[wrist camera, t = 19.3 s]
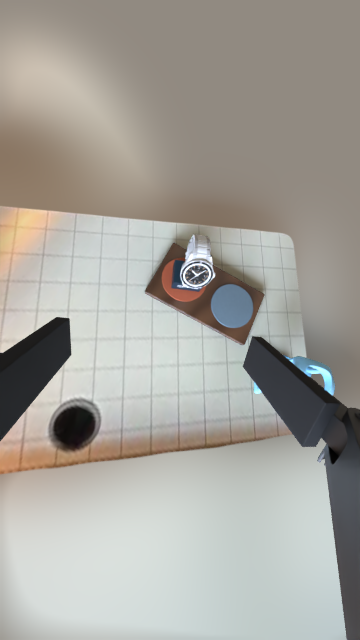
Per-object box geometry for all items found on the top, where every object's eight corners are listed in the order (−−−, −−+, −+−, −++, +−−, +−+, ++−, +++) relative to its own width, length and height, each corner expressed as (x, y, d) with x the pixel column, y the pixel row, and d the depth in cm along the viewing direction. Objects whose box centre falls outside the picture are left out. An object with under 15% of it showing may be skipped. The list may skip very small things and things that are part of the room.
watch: (170, 297, 35) (180, 274, 24) (173, 259, 36) (184, 220, 26) (198, 301, 36) (221, 279, 25) (200, 263, 37) (222, 227, 26)
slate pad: (203, 314, 36) (204, 314, 35) (221, 277, 38) (222, 276, 37) (242, 335, 36) (243, 335, 36) (258, 297, 38) (259, 297, 38)
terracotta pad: (153, 287, 35) (153, 286, 34) (174, 250, 37) (174, 249, 37) (194, 309, 36) (195, 309, 35) (213, 272, 38) (213, 271, 37)
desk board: (144, 293, 36) (144, 291, 34) (172, 245, 38) (173, 242, 37) (241, 345, 37) (244, 344, 36) (261, 295, 40) (264, 294, 39)
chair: (243, 388, 36) (289, 406, 24) (253, 348, 38) (301, 346, 26) (277, 401, 37) (338, 424, 25) (286, 361, 38) (346, 365, 27)
